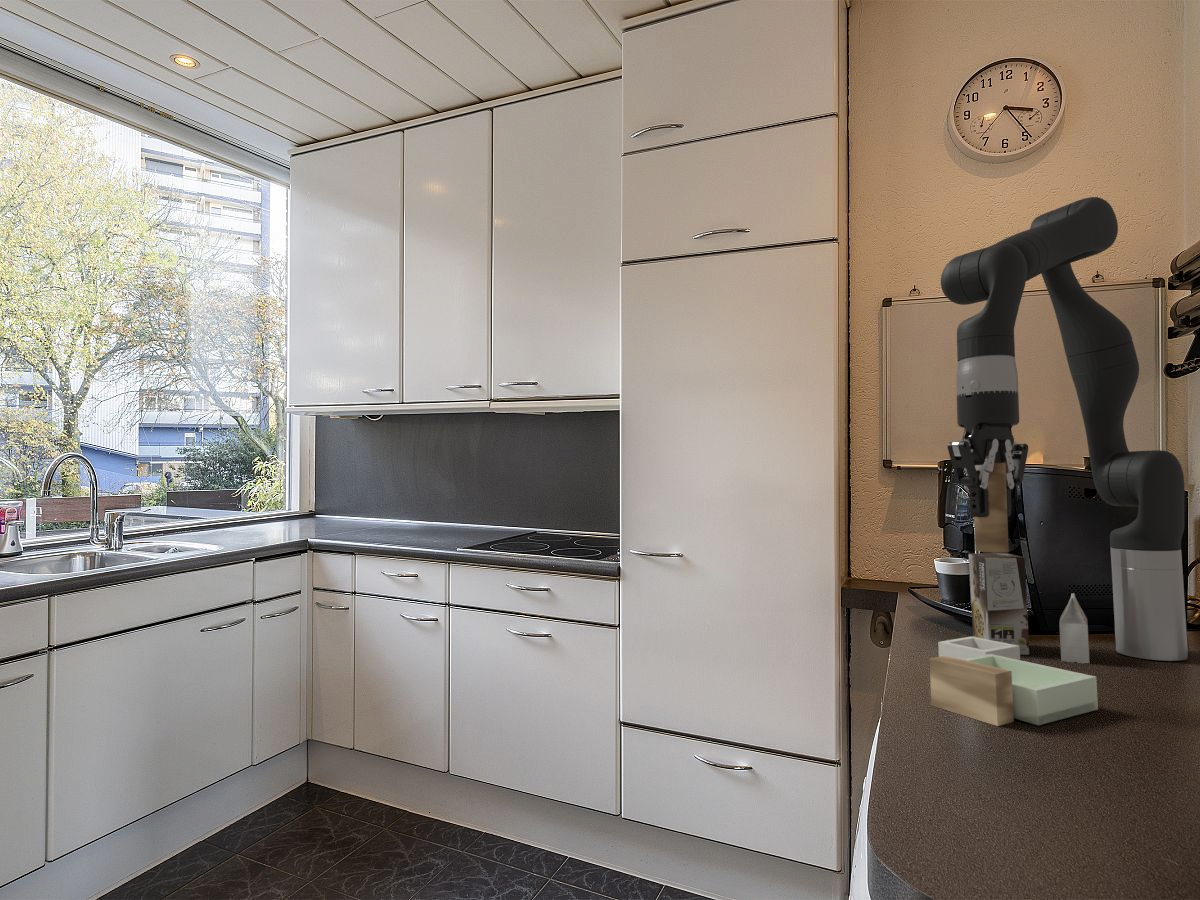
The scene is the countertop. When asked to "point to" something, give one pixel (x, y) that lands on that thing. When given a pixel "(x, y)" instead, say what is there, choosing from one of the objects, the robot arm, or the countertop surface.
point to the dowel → (994, 514)
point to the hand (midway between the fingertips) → (990, 516)
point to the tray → (1045, 690)
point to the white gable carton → (1074, 633)
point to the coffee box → (999, 598)
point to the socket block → (977, 648)
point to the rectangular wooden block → (972, 689)
